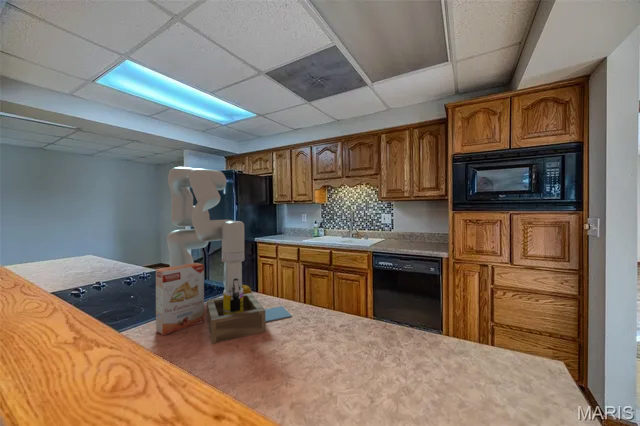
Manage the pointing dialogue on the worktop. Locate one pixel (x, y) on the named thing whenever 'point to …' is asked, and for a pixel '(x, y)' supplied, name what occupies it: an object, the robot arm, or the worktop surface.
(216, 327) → the box
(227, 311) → the supplement bottle
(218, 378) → the worktop surface
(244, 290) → the apple
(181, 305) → the cracker box
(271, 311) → the mat
